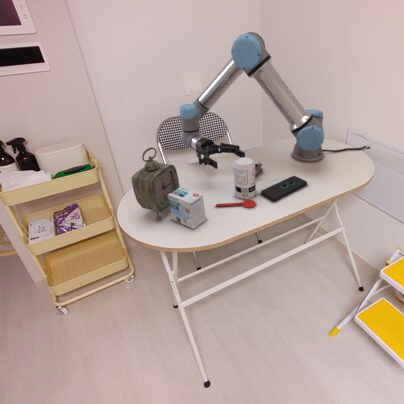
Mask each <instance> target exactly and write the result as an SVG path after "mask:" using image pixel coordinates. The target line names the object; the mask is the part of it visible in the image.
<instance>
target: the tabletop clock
mask: <svg viewBox="0 0 404 404" xmlns="http://www.w3.org/2000/svg"><path fill="white" fill-rule="evenodd" d="M151 150H154V154H153V155H149V156H148V159H145V155H146V153H148V152H149V151H151ZM157 152H158V151H157V149H156V148H155V147H152V146H151V147H148V148H147V149H145V150H144V151H143V153H142V155H141V159H142V161H143V162H145V164H144V166H143V167H141V168H140V169H139V170H137V171H136V172H135V173H133V175H132V176H131V186H132V189H133V193H134V197H135V199H136V202H137V203H138V204H139V206H140V207H141V208H142V209H145V210H149V211H154V212H155V213H156V215H157V216H156V217H155V218H156V220H157V221H160V220H161V219H162V217H161V216H160V214H159V213H160V212H164V211H165V210H166V209H168V208H170V205H169V200H168V194H170V193H172V192H173V191H175V190H176V189H178V188H179V187H180V181H179V180H180V179H179V176H178V172H177V168H176V167H175V165H174V164H169V163H163V162H159V161H157V160H155V158H156V156H157Z"/></svg>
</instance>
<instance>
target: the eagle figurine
mask: <svg viewBox="0 0 404 404" xmlns="http://www.w3.org/2000/svg"><path fill="white" fill-rule="evenodd" d="M266 170H267V166H266V164H263V163H262V162H260V161H257V163H255V179H256V178H258V177H259V176H261V175H262V174H263V173H264V172H266Z"/></svg>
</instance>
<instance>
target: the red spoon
mask: <svg viewBox="0 0 404 404" xmlns="http://www.w3.org/2000/svg"><path fill="white" fill-rule="evenodd" d="M215 206H216V207H217V208H221V207H222V208H223V207H237V206H239V207H240V206H243V207H244V208H246V209H253V208H254V207H256V201H255V200H253V199H245V200H244V201H243V202H228V203H227V202H226V203H216V204H215Z"/></svg>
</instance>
